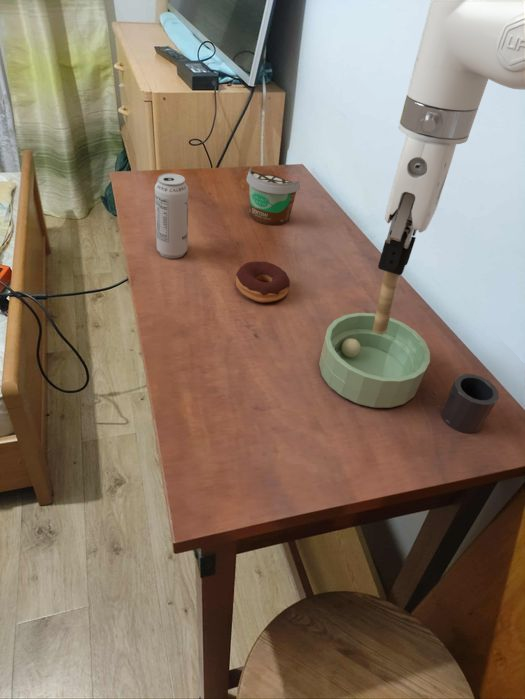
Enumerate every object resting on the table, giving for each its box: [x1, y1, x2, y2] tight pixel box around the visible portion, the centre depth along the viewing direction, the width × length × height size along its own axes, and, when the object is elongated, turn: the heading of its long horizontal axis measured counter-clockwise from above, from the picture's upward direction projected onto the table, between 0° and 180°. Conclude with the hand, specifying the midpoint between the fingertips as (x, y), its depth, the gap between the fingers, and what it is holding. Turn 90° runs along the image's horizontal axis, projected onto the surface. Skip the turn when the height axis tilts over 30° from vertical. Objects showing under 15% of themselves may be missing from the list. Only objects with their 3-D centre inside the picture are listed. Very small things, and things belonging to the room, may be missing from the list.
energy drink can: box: [154, 172, 189, 259], centre depth 96 cm, size 6×6×15 cm
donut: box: [235, 260, 291, 304], centre depth 93 cm, size 10×10×4 cm
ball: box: [341, 338, 361, 357], centre depth 81 cm, size 3×3×3 cm
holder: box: [440, 373, 500, 434], centre depth 73 cm, size 6×6×6 cm
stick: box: [373, 229, 408, 334], centre depth 68 cm, size 2×2×16 cm
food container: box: [246, 166, 301, 226], centre depth 113 cm, size 12×6×10 cm, turn 68°
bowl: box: [318, 312, 431, 409], centre depth 78 cm, size 16×16×6 cm
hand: (392, 265), depth 67 cm, fingers closed on stick, 2 cm apart
